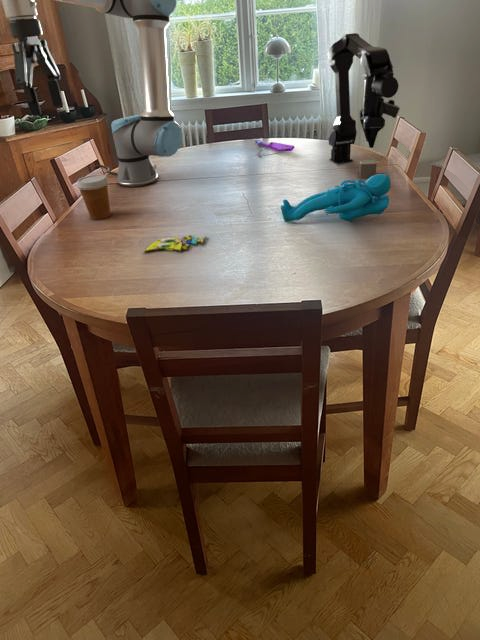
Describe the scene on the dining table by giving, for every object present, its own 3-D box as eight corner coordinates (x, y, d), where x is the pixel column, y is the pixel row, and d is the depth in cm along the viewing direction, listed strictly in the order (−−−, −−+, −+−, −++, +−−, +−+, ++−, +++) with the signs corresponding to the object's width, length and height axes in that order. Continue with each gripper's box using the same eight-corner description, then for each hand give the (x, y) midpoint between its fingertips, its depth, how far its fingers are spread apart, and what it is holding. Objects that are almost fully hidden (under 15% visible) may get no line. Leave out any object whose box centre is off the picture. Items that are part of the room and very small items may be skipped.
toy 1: (199, 248, 125) (143, 249, 127) (199, 251, 125) (144, 252, 127) (206, 233, 133) (154, 234, 135) (206, 236, 133) (154, 237, 136)
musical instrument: (281, 159, 196) (302, 141, 209) (280, 154, 195) (302, 136, 207) (233, 159, 209) (255, 142, 221) (232, 155, 208) (255, 137, 220)
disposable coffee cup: (79, 220, 152) (69, 182, 146) (97, 209, 159) (88, 173, 153) (104, 222, 149) (94, 184, 142) (121, 211, 156) (113, 174, 150)
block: (375, 177, 166) (376, 163, 163) (360, 178, 166) (361, 164, 164) (373, 173, 170) (374, 159, 167) (358, 173, 171) (359, 160, 168)
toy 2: (284, 188, 143) (387, 162, 133) (293, 221, 149) (393, 198, 138) (276, 209, 130) (390, 181, 120) (286, 244, 135) (397, 221, 125)
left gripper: (11, 18, 109) (40, 118, 120) (58, 16, 129) (78, 101, 141) (-19, 21, 110) (12, 120, 121) (32, 18, 130) (54, 103, 142)
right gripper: (404, 96, 145) (398, 150, 153) (394, 88, 160) (390, 136, 169) (366, 99, 146) (363, 151, 155) (360, 90, 162) (357, 138, 170)
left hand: (48, 110), depth 131 cm, fingers open, 13 cm apart
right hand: (369, 144), depth 162 cm, fingers open, 9 cm apart
